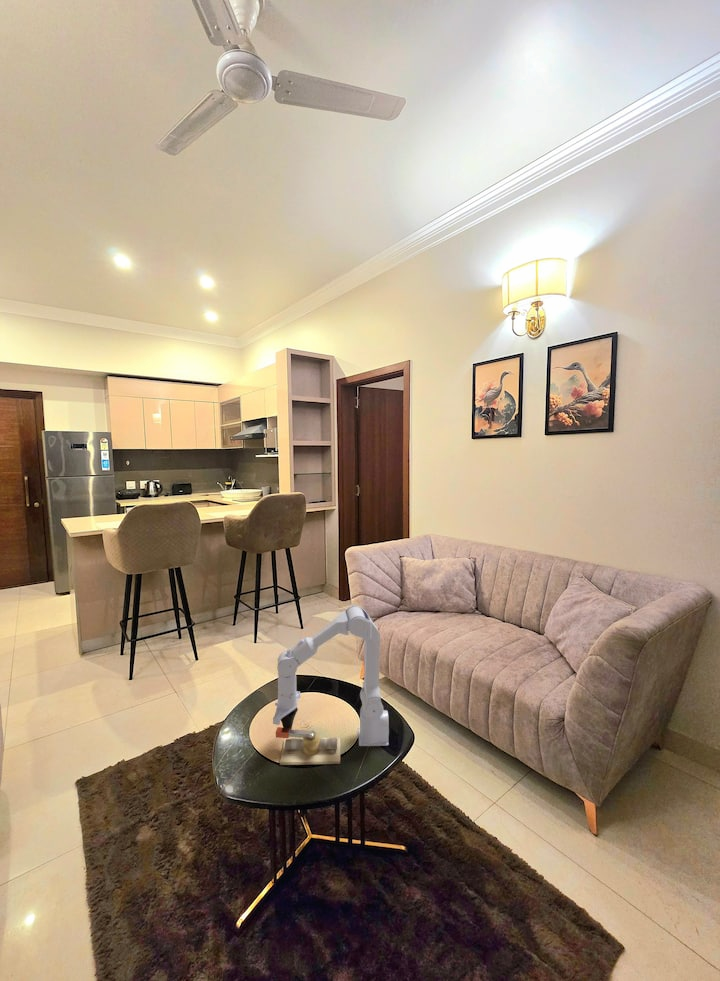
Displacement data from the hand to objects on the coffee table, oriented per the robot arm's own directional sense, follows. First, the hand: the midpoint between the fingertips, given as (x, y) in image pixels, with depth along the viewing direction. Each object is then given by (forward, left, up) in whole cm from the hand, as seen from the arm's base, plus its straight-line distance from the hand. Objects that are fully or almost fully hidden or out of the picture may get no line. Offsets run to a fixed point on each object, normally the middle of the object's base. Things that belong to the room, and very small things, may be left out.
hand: (287, 731), depth 127 cm
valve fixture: (-8, +3, -5) cm, 10 cm away
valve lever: (-3, +3, 0) cm, 4 cm away
